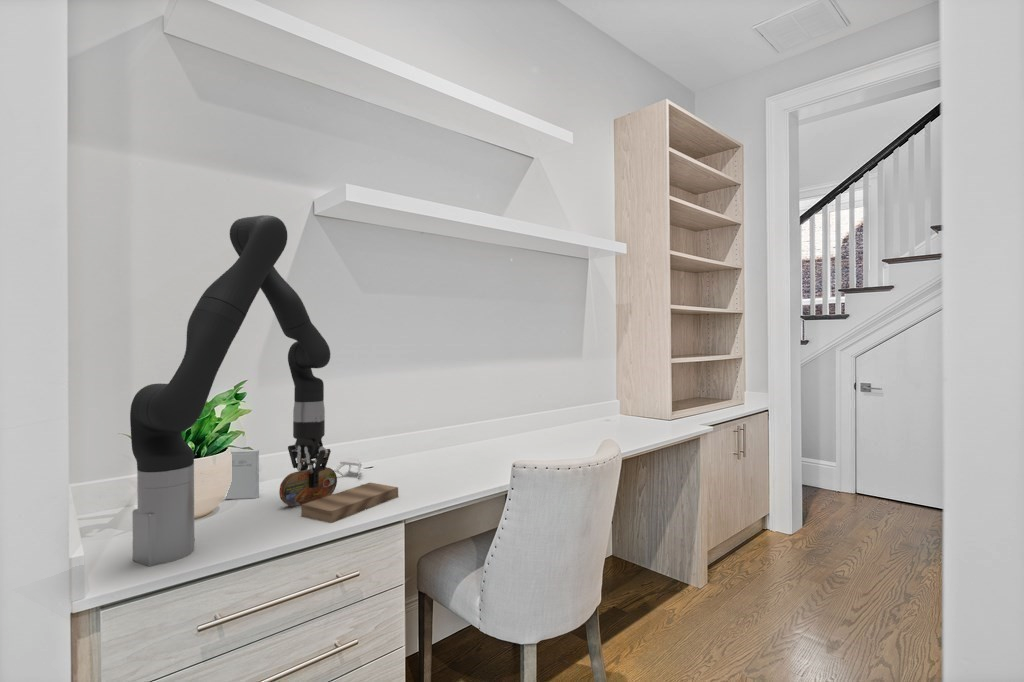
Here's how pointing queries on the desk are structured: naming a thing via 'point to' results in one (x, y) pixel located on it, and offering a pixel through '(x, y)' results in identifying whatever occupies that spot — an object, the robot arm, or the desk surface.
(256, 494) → the external hard drive
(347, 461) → the origami figure
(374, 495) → the walnut riser
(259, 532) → the desk surface
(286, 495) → the tin
